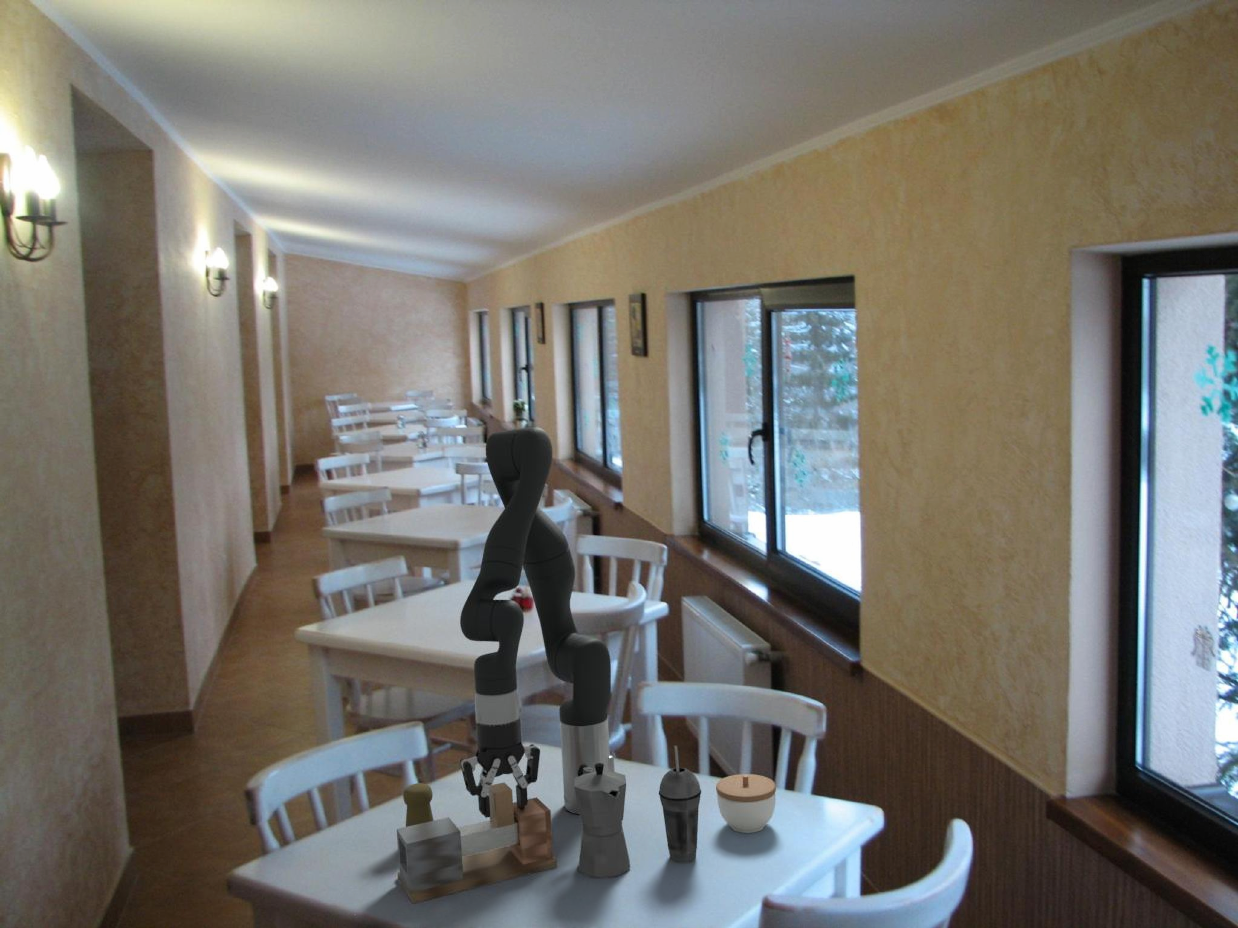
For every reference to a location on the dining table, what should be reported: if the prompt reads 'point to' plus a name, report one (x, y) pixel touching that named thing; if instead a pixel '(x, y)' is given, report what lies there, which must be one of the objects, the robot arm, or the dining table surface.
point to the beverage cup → (680, 812)
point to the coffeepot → (601, 822)
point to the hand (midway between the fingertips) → (503, 811)
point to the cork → (418, 804)
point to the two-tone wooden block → (492, 824)
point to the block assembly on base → (442, 870)
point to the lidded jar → (746, 801)
